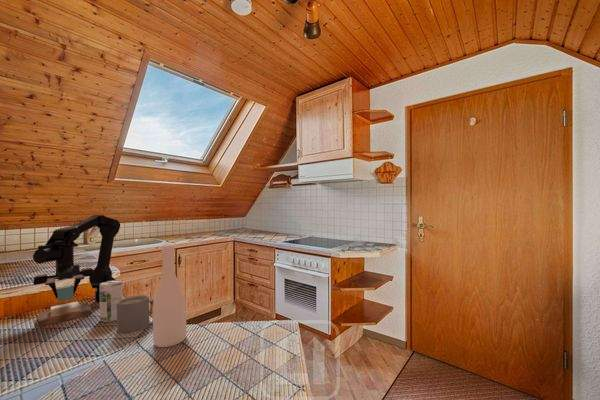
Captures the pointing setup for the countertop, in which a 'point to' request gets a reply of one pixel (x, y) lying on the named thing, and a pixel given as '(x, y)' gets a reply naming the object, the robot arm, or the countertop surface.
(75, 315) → the stacking base
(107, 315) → the syrup box
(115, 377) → the countertop surface
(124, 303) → the coffee mug
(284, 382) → the countertop surface
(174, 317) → the wine bottle
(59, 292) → the teal cube
